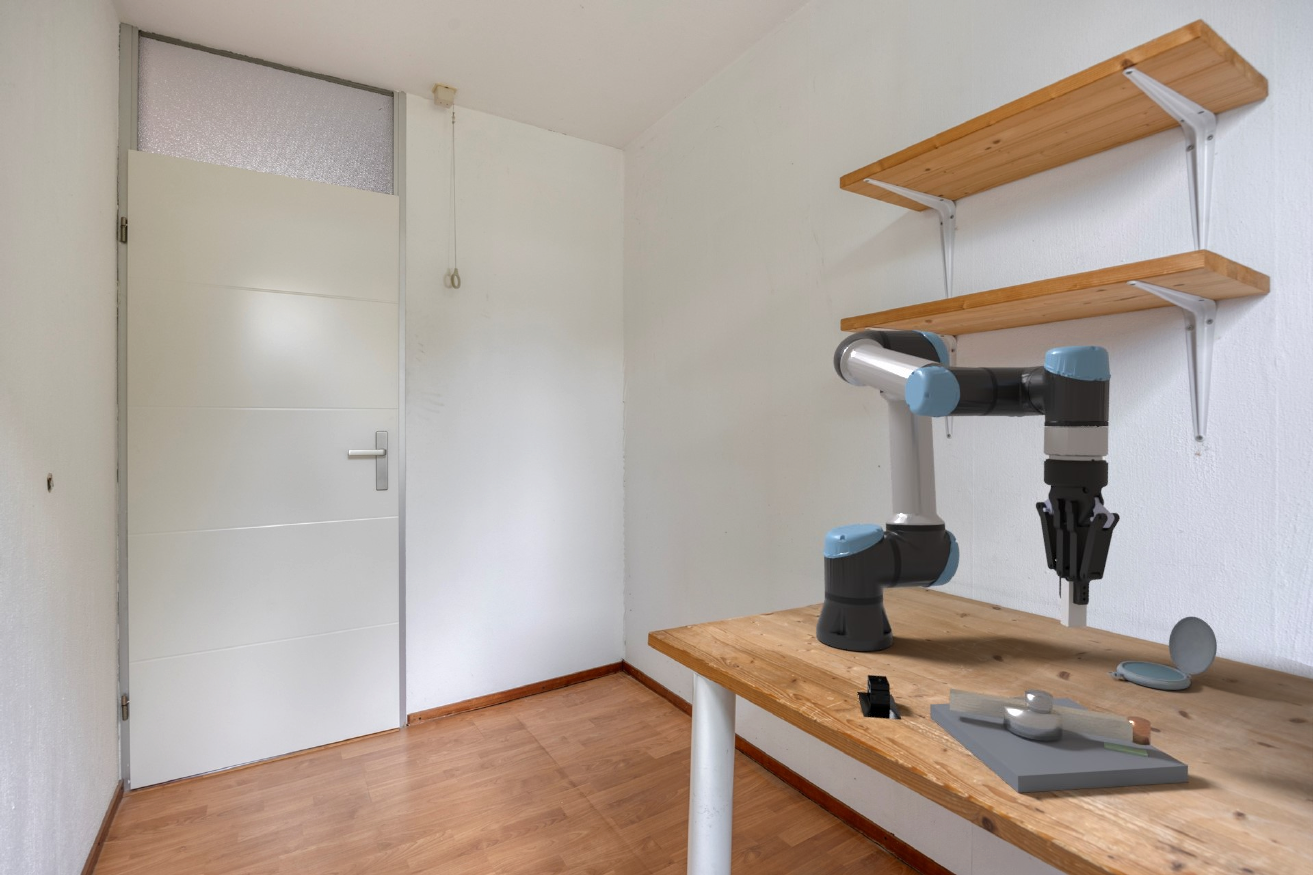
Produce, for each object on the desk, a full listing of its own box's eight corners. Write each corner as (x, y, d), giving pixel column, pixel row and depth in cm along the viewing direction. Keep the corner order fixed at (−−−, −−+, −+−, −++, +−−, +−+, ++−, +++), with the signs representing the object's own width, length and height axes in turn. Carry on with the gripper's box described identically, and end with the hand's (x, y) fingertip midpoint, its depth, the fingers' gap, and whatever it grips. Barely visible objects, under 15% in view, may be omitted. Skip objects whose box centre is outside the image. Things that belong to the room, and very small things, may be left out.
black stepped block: (851, 690, 107) (851, 663, 107) (897, 694, 105) (897, 666, 105) (859, 724, 95) (859, 694, 95) (911, 728, 93) (911, 697, 93)
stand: (930, 717, 95) (930, 702, 95) (1067, 710, 97) (1067, 696, 97) (1018, 792, 75) (1018, 773, 75) (1187, 781, 77) (1187, 763, 77)
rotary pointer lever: (951, 704, 94) (950, 672, 94) (1144, 737, 84) (1144, 700, 84) (948, 723, 88) (948, 689, 88) (1157, 761, 78) (1157, 722, 78)
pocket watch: (1224, 626, 103) (1128, 625, 104) (1224, 693, 104) (1128, 691, 105) (1178, 609, 114) (1090, 608, 114) (1178, 670, 114) (1091, 668, 115)
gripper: (1139, 460, 82) (1137, 639, 83) (1066, 455, 95) (1064, 610, 96) (1086, 461, 82) (1083, 642, 82) (1019, 455, 95) (1017, 612, 95)
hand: (1073, 624), depth 89 cm, fingers closed
